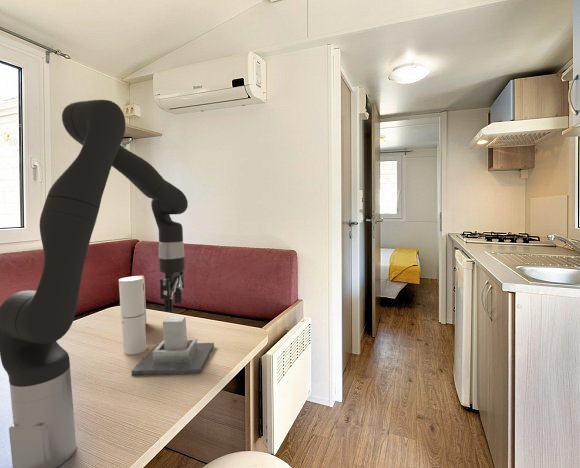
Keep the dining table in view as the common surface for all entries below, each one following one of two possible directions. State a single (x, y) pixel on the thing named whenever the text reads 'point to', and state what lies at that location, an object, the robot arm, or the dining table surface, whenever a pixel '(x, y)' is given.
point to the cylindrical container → (132, 315)
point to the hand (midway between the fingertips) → (173, 306)
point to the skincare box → (175, 333)
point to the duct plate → (174, 360)
